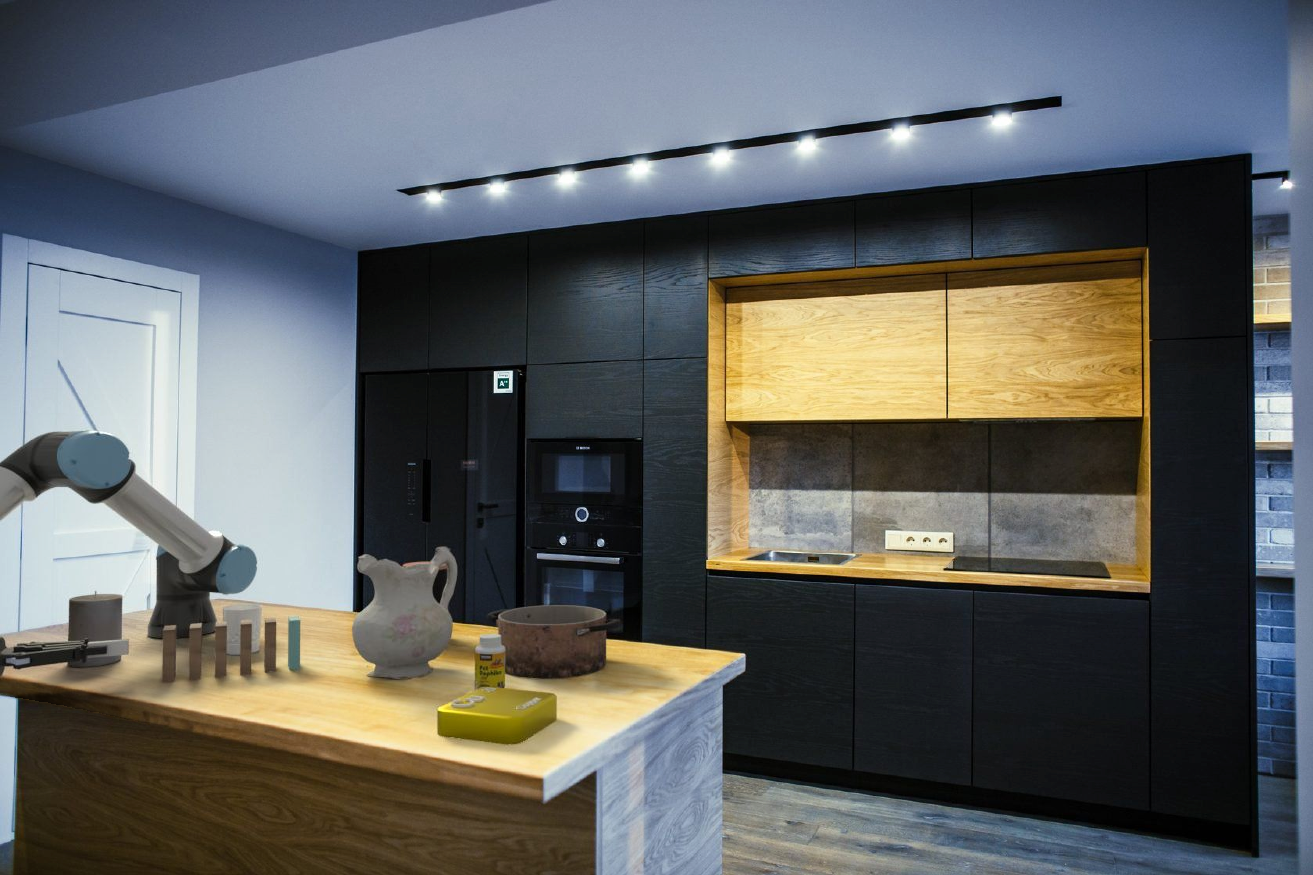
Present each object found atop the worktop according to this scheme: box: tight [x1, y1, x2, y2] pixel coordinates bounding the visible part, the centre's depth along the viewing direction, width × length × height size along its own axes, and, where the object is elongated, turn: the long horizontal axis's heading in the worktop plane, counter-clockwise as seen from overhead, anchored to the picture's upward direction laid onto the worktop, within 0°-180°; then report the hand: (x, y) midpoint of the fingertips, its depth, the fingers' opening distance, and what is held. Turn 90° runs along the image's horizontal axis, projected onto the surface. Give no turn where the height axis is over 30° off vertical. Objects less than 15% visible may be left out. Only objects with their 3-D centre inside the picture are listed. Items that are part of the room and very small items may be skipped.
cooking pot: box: [486, 604, 622, 680], centre depth 180 cm, size 30×22×11 cm
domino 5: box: [263, 617, 277, 673], centre depth 177 cm, size 5×2×10 cm, turn 26°
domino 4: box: [239, 620, 253, 676], centre depth 175 cm, size 5×2×10 cm, turn 26°
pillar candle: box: [66, 590, 124, 668], centre depth 183 cm, size 10×10×15 cm
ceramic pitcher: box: [351, 545, 458, 680], centre depth 176 cm, size 22×20×25 cm
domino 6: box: [287, 615, 301, 671], centre depth 179 cm, size 5×2×10 cm, turn 26°
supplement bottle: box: [474, 633, 506, 690], centre depth 160 cm, size 6×6×10 cm
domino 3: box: [214, 621, 228, 678], centre depth 173 cm, size 5×2×10 cm, turn 26°
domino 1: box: [161, 625, 177, 684], centre depth 169 cm, size 5×2×10 cm, turn 26°
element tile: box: [436, 687, 558, 745], centre depth 140 cm, size 15×15×5 cm
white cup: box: [222, 603, 263, 656], centre depth 193 cm, size 8×8×10 cm
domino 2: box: [188, 623, 203, 681], centre depth 171 cm, size 5×2×10 cm, turn 26°
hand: (128, 646), depth 166 cm, fingers closed
